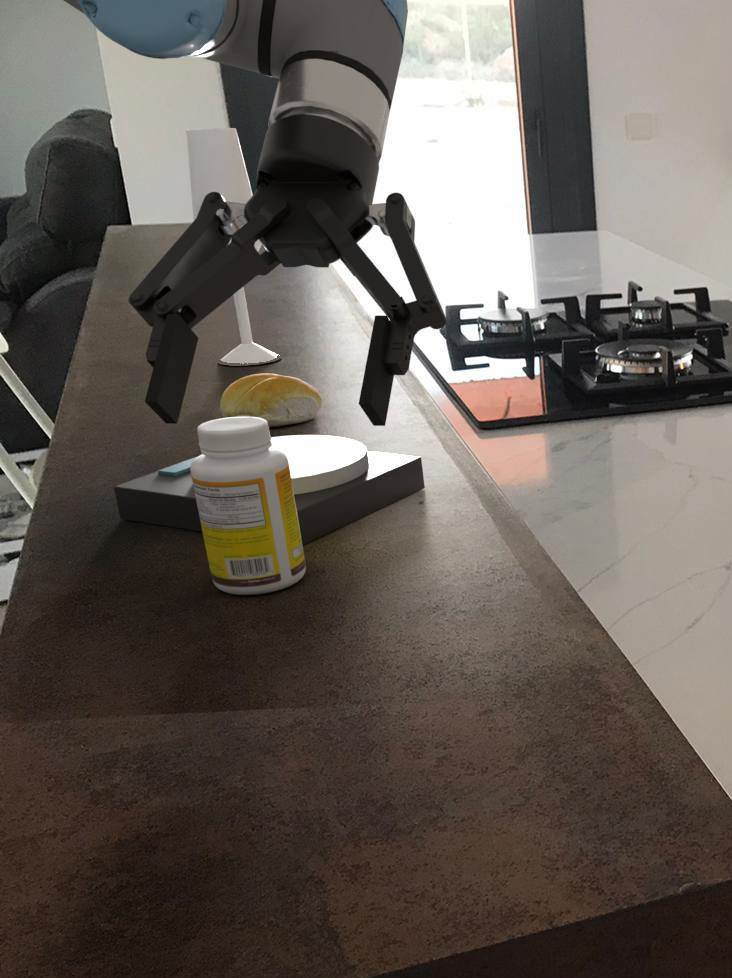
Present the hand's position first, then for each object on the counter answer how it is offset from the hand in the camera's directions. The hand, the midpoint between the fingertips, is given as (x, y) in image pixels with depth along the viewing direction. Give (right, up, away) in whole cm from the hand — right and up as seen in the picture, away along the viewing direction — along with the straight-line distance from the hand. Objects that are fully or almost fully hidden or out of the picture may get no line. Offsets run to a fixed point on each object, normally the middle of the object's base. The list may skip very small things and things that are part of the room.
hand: (266, 414), depth 81 cm
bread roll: (-15, +5, +38) cm, 41 cm away
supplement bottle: (0, -11, 0) cm, 11 cm away
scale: (-5, -5, +14) cm, 16 cm away
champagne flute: (-27, +15, +61) cm, 68 cm away
